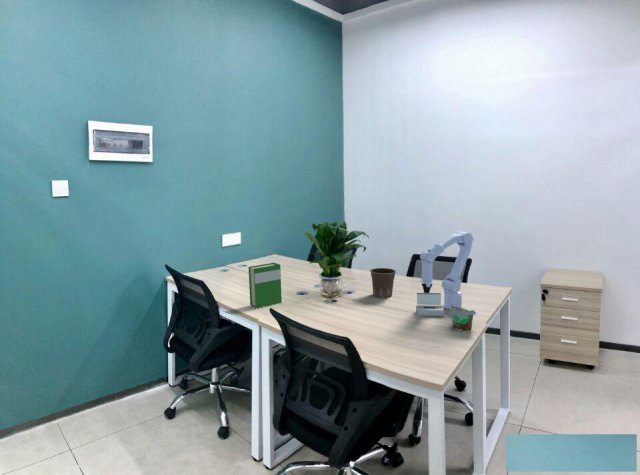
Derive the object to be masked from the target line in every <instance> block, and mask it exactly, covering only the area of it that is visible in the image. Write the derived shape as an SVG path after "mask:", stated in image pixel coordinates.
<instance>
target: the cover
mask: <svg viewBox="0 0 640 475" xmlns="http://www.w3.org/2000/svg"><path fill="white" fill-rule="evenodd" d="M441 302H442V293H441V292H429V293H424V292H416V305H432V306H442V303H441Z"/></svg>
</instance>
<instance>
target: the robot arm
mask: <svg viewBox="0 0 640 475" xmlns="http://www.w3.org/2000/svg"><path fill="white" fill-rule="evenodd" d="M473 242H474V237H473V235H472V233H471V232H464V231H459V230H457V231H455V232H453V233H452V234H451V236H449V237H448V238H447V239H446V240H443V242H442V243H434V244H433V246H432V247H430V248H428V249H427V250H424V251H422V252H421V253H420V255H419V259H420V261H421V279H419V282H420V283H421V286H422V289H423V293H431V292H430V291H431V288H432V287H433V267H434V264H433V262H435V261H436V258H437V257H438V256H440V255H442V254H443V253H444V252H445V249H447V248H448V247H450V246H453V245H455V244H457V245H458V247H459V251H458V254H457V256H456V258H455V262H454V264H453V266H452V269H451V271H450V273H449V274H448V275H446V276H445V278H444V279H443V281H441V287H442V289H443V292H444V293H443V294H444V295H443V297H444V298H443V303H441V306H442V307H443V309H447V310H448V309H449V310H450V309H451V306H452V305H453V307H456V308H462V304H463V303H462V302H463V301H462V300H463V299H462V297H463V295H462V292H461V291H460V290H461V285H462V280H461V275H462V273H463V270H464V268H465V265H466V264H467V260H468V259H469V256H470V253H471V250H472V245H473Z"/></svg>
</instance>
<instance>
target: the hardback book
mask: <svg viewBox="0 0 640 475" xmlns="http://www.w3.org/2000/svg"><path fill="white" fill-rule="evenodd" d="M281 275H282V273H281V264H279V263H277V262H271V263H264V264H257V265H252V266H248V283H249V284H248V285H249V286H248V288H249V306H250V305H253V307H255V309H256V308H257V309H260V308H259V307H261V308H264V307H263V306H265V307H269V306H273V305H274V306H275V305H278V304H282V276H281Z"/></svg>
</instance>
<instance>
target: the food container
mask: <svg viewBox="0 0 640 475" xmlns="http://www.w3.org/2000/svg"><path fill="white" fill-rule="evenodd" d="M449 311H450V312H451V320H452V321H451V322H452V327H453V328H454V329H456V328H457V329H456V330H459V329H462V330H461V331H471V330H472V326H473V320H474V316H475V311H474V309H473V310H468V309H467V308H464V307H463V308H462V307H461V308H456V307H453V305H452V306H451V309H449Z"/></svg>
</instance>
